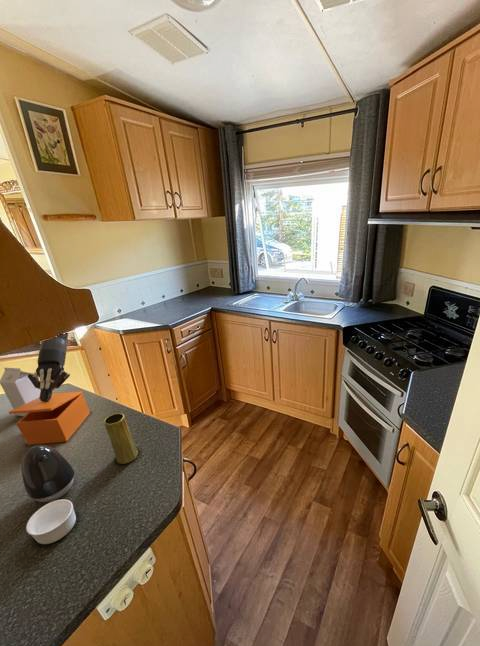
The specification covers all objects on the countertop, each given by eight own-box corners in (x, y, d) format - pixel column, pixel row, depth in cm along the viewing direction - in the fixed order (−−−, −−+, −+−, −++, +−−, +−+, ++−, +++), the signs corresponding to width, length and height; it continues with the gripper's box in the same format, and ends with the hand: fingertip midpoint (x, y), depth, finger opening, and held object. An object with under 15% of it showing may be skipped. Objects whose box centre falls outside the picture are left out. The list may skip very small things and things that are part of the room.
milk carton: (34, 405, 116) (13, 363, 108) (48, 406, 115) (28, 363, 106) (17, 416, 110) (-7, 372, 102) (32, 417, 109) (9, 373, 100)
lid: (51, 410, 89) (50, 408, 89) (9, 414, 89) (8, 411, 89) (82, 393, 105) (81, 391, 105) (46, 396, 105) (46, 394, 105)
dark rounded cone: (45, 516, 71) (18, 470, 64) (26, 498, 76) (-1, 454, 69) (86, 485, 78) (66, 442, 72) (67, 471, 83) (46, 429, 77)
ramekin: (29, 530, 67) (21, 518, 66) (72, 504, 73) (66, 492, 71) (39, 556, 62) (31, 543, 60) (84, 525, 68) (78, 513, 66)
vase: (130, 465, 84) (116, 426, 78) (111, 463, 85) (96, 424, 79) (142, 450, 90) (130, 412, 83) (124, 448, 91) (111, 411, 85)
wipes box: (67, 441, 95) (57, 419, 91) (27, 444, 95) (15, 423, 91) (90, 413, 109) (82, 393, 105) (55, 416, 109) (46, 396, 105)
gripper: (25, 349, 97) (14, 400, 91) (65, 346, 98) (57, 397, 92) (41, 357, 104) (32, 404, 99) (79, 354, 105) (72, 401, 99)
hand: (44, 401), depth 95 cm, fingers closed
